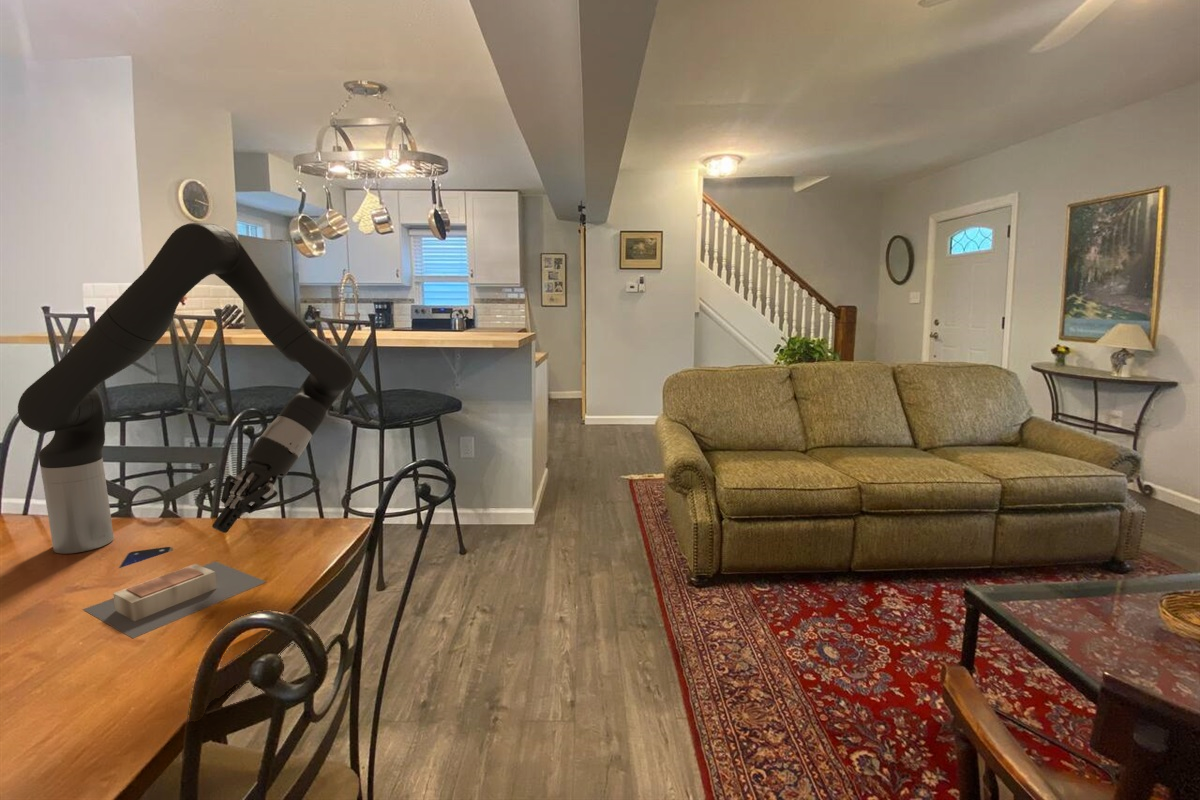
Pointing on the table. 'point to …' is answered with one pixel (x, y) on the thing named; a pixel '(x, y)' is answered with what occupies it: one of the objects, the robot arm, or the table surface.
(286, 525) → the table surface
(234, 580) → the rubber mat
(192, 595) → the beige rectangular block
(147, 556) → the smartphone
